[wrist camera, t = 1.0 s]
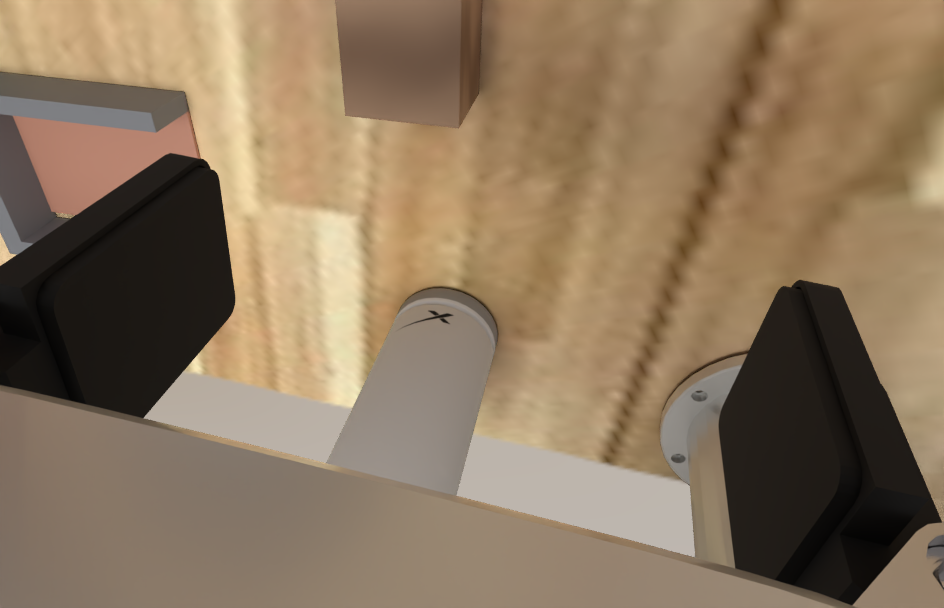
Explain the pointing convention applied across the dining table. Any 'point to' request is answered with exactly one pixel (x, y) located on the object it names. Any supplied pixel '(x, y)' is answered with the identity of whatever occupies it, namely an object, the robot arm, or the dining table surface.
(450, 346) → the travel mug
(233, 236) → the dining table surface
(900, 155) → the dining table surface
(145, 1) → the dining table surface
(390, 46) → the walnut block
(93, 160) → the bay rack
